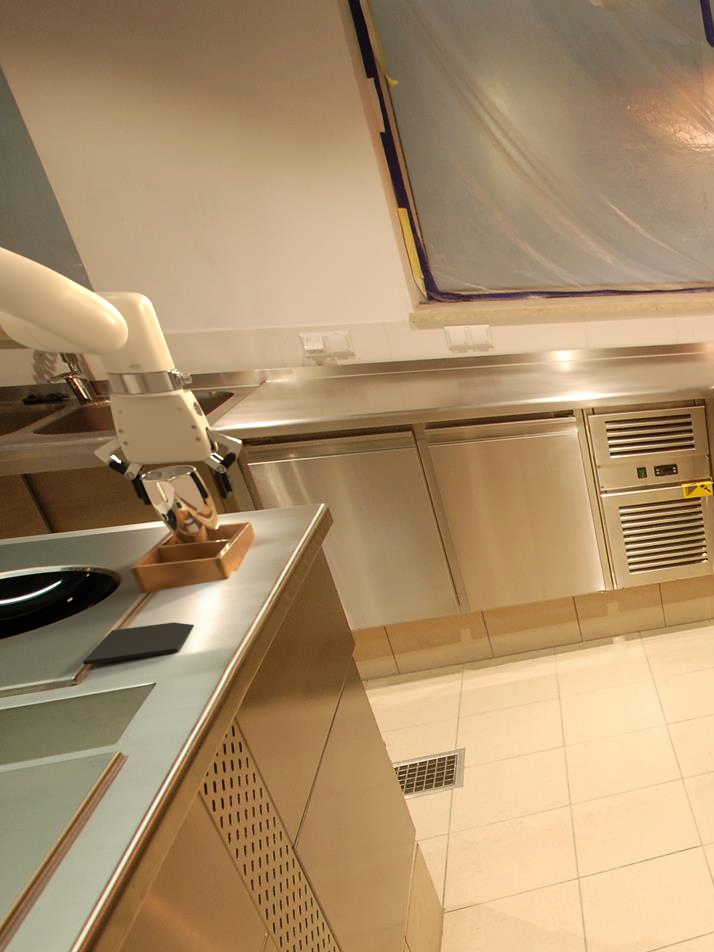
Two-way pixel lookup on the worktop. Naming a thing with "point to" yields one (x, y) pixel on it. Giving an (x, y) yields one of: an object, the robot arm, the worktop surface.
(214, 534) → the beer glass
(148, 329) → the robot arm
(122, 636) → the mat
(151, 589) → the wooden divided tray
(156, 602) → the worktop surface
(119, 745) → the worktop surface
